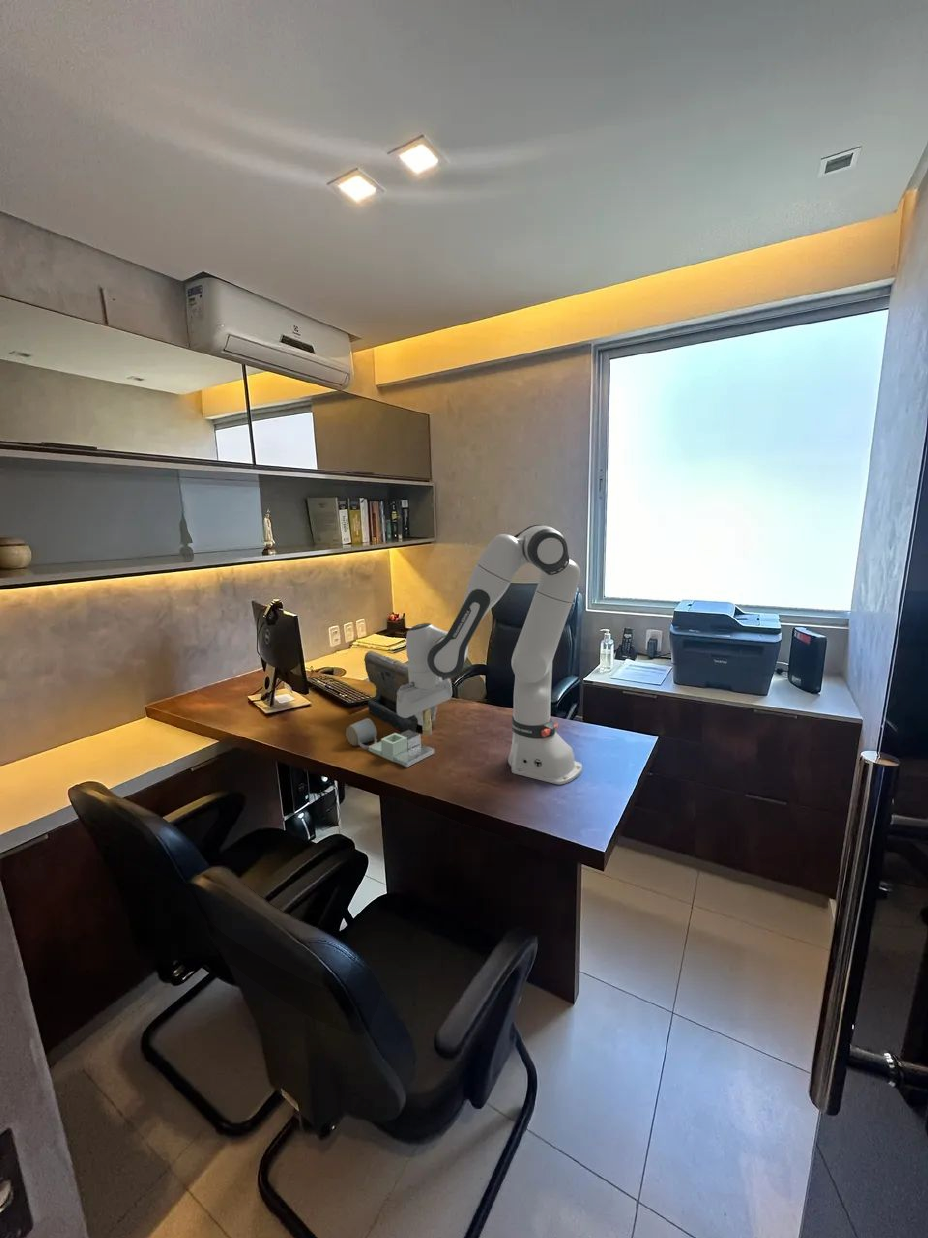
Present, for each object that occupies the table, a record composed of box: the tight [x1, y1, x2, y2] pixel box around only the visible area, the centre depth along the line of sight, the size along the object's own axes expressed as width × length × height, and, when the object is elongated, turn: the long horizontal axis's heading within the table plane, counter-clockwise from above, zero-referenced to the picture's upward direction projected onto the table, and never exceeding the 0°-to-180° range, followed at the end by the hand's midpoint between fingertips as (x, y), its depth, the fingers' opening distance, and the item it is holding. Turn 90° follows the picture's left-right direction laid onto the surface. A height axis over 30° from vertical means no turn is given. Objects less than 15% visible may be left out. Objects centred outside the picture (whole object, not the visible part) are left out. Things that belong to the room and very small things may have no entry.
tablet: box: [363, 650, 436, 733], centre depth 182 cm, size 33×14×25 cm, turn 46°
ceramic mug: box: [345, 717, 378, 750], centre depth 164 cm, size 11×8×8 cm
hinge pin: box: [421, 708, 433, 736], centre depth 147 cm, size 3×3×9 cm
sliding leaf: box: [393, 730, 435, 768], centre depth 156 cm, size 12×12×5 cm
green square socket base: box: [368, 732, 407, 763], centre depth 160 cm, size 12×12×6 cm
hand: (426, 722), depth 147 cm, fingers closed on hinge pin, 3 cm apart
